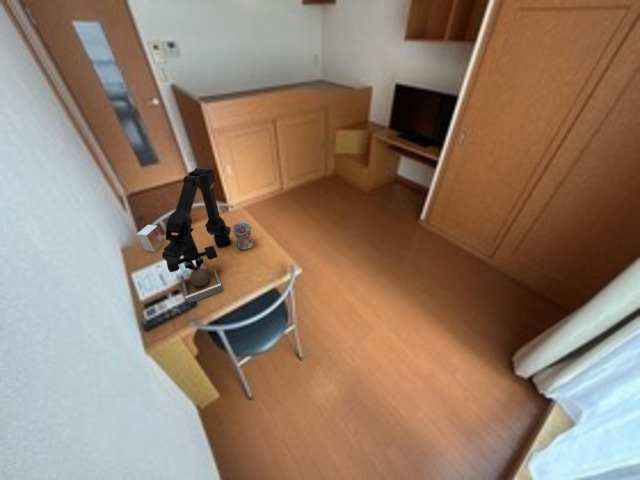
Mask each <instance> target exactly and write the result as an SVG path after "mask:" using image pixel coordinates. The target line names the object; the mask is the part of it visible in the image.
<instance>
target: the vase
mask: <svg viewBox="0 0 640 480" xmlns="http://www.w3.org/2000/svg"><path fill="white" fill-rule="evenodd" d="M209 276H210V275H209V273H208V271H207V270H206V269H204V268H202V267H200V268H199V267H196V266H195V267H194V268H193V270H191V271H190V275H189V279H190V282H191V283H192V284H193V285H194V286H196V287H203V286H205V285H207V283H208V282H209Z"/></svg>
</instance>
